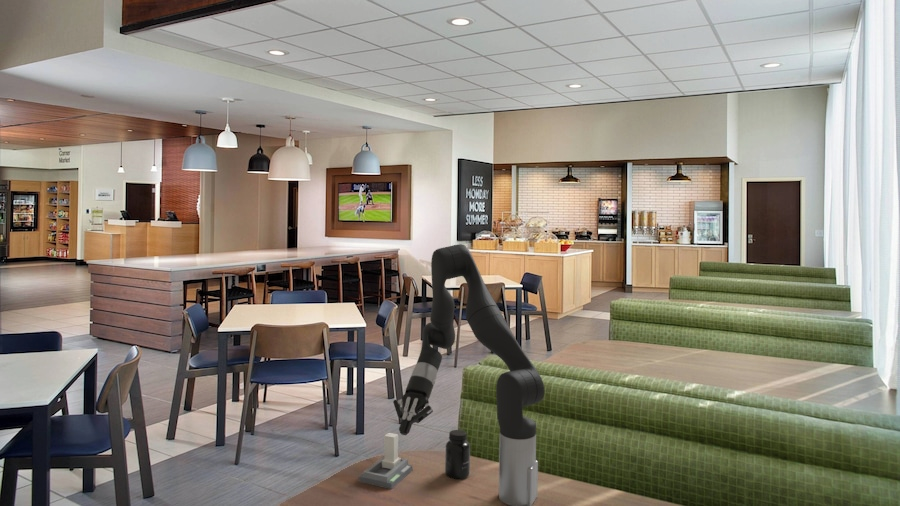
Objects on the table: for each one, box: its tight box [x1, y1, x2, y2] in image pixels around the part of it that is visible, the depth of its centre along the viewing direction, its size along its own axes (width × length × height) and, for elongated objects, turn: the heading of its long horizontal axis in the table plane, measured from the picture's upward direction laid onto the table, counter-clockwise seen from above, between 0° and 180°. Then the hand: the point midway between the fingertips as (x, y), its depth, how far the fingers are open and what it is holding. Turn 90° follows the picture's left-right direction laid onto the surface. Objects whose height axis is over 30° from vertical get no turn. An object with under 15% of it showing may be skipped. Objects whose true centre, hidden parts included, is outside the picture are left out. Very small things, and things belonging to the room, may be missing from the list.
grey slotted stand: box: [358, 455, 413, 490], centre depth 168 cm, size 10×12×3 cm
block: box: [382, 432, 402, 469], centre depth 170 cm, size 4×4×9 cm
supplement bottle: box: [444, 429, 471, 480], centre depth 168 cm, size 7×7×12 cm
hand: (402, 433), depth 176 cm, fingers closed
